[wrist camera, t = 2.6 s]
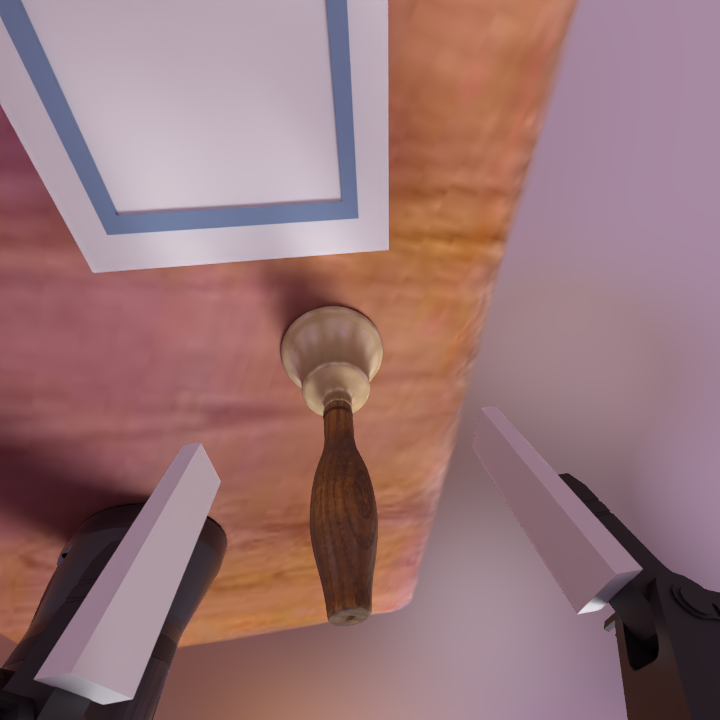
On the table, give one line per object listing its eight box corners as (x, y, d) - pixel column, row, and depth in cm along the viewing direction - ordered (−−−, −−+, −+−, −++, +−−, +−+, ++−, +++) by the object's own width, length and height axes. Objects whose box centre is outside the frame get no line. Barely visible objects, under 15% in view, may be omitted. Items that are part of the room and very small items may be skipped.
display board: (130, 264, 16) (89, 273, 13) (-115, -254, 8) (-338, -496, 5) (378, 245, 17) (389, 250, 15) (369, -215, 10) (388, -393, 7)
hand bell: (375, 395, 24) (451, 644, 10) (283, 394, 22) (218, 683, 8) (389, 308, 20) (549, 518, 6) (279, 301, 18) (145, 551, 4)
